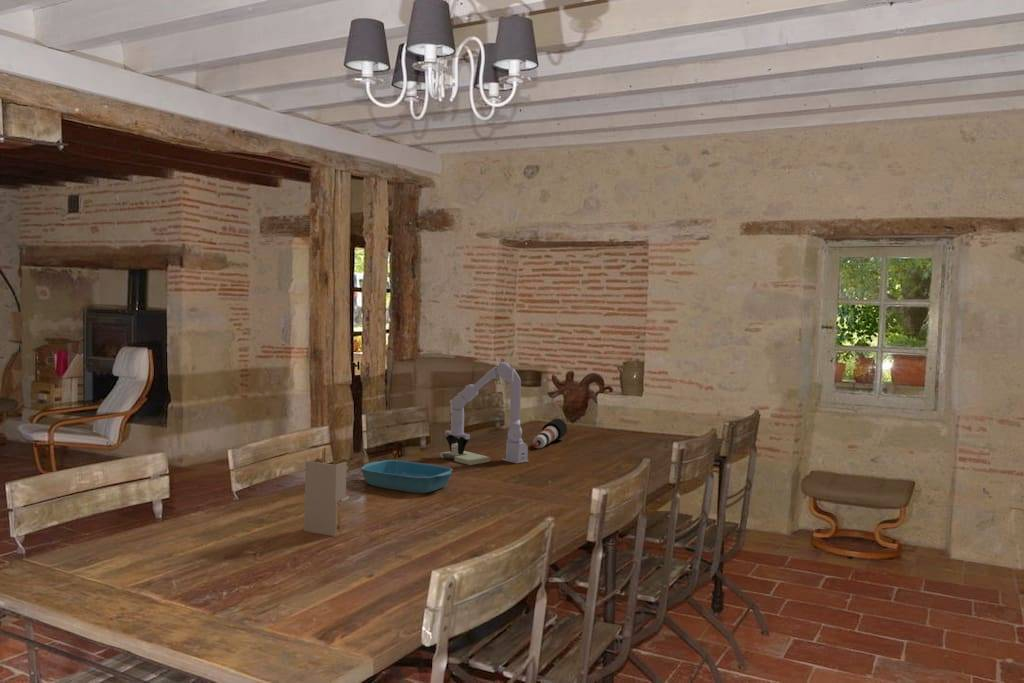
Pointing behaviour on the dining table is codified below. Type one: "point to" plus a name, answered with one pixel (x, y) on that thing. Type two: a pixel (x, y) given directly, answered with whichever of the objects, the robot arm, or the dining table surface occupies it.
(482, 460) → the pale green panel
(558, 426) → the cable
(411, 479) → the casserole dish
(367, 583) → the dining table surface
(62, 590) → the dining table surface
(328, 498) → the tall grey upright box
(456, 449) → the white round knob
